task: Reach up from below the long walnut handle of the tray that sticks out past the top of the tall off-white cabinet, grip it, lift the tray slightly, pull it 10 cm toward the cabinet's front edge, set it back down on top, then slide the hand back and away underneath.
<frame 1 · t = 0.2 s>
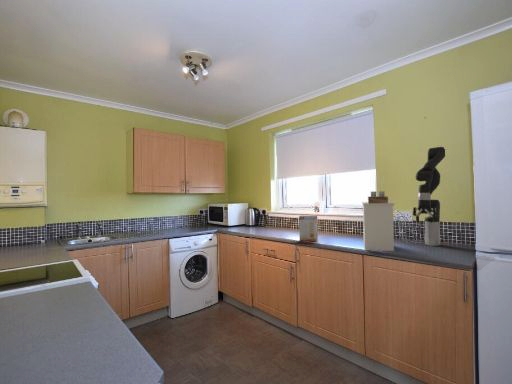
hand: (424, 222, 195), 18 cm above the countertop, tool pointing down, fingers open, 8 cm apart
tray: (377, 202, 192), point 32 cm above the countertop, touching cabinet
cracker box: (308, 240, 229), on the countertop
cabinet: (377, 247, 198), on the countertop
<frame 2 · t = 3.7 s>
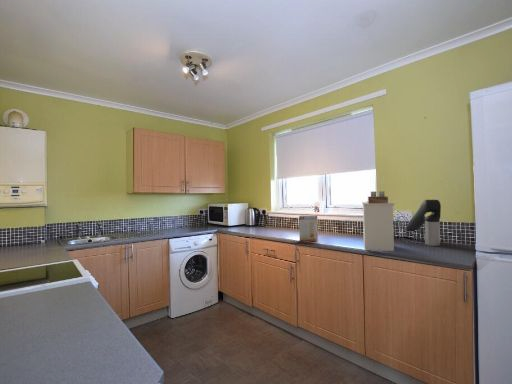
hand: (373, 201, 228), 31 cm above the countertop, tool pointing upward, fingers open, 8 cm apart
nothing on the countertop moved.
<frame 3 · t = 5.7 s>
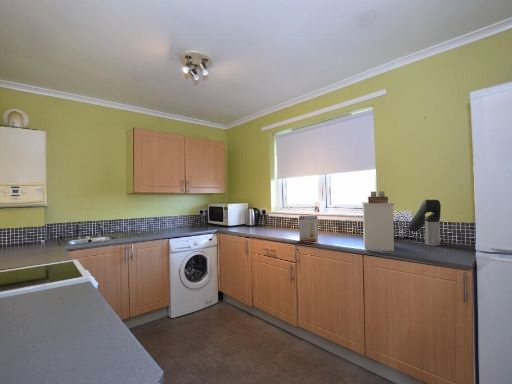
hand: (373, 202, 219), 31 cm above the countertop, tool pointing upward, fingers open, 8 cm apart
nothing on the countertop moved.
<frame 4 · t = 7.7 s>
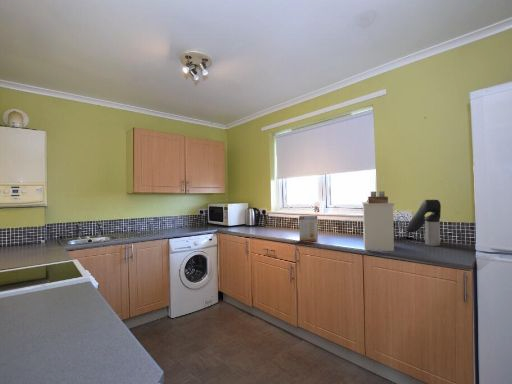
hand: (375, 198, 213), 34 cm above the countertop, tool pointing upward, fingers closed on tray, 4 cm apart
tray: (377, 202, 192), point 32 cm above the countertop, touching cabinet, gripper
everything else where it was.
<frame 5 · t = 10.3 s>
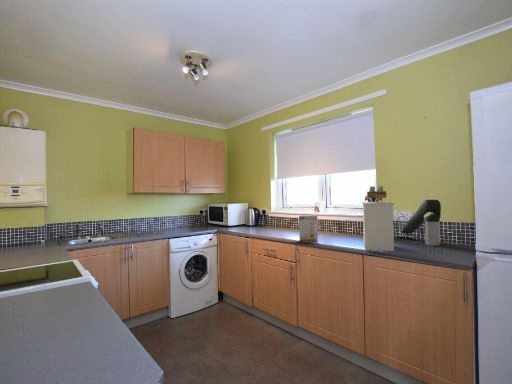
hand: (373, 193, 218), 38 cm above the countertop, tool pointing upward, fingers closed on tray, 4 cm apart
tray: (376, 197, 197), point 36 cm above the countertop, touching gripper
everything else where it was.
when the fingers open (35 cm above the countertop, at t = 12.8 s): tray stays where it is, resting on cabinet.
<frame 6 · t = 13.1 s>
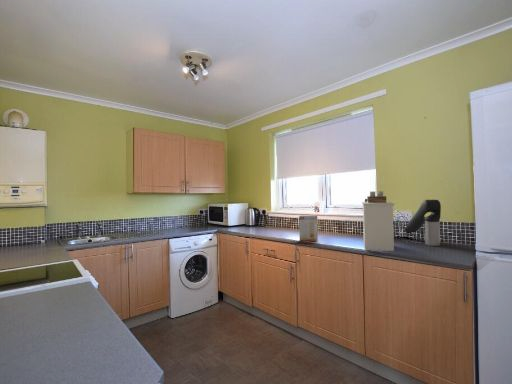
hand: (374, 197, 223), 35 cm above the countertop, tool pointing upward, fingers open, 7 cm apart
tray: (376, 202, 201), point 32 cm above the countertop, touching cabinet
everything else where it was.
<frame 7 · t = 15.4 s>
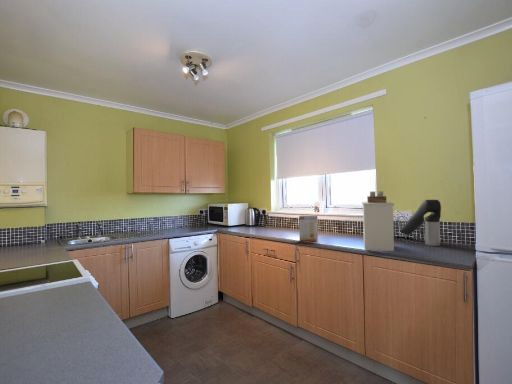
hand: (372, 202, 233), 30 cm above the countertop, tool pointing upward, fingers open, 8 cm apart
nothing on the countertop moved.
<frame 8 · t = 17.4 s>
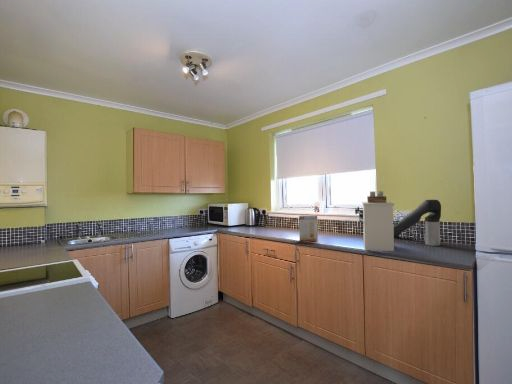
hand: (363, 207, 236), 26 cm above the countertop, tool pointing upward, fingers open, 8 cm apart
nothing on the countertop moved.
at the end: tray moved 9.9 cm from its start; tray point 32.0 cm above the countertop; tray tilted 0° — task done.
